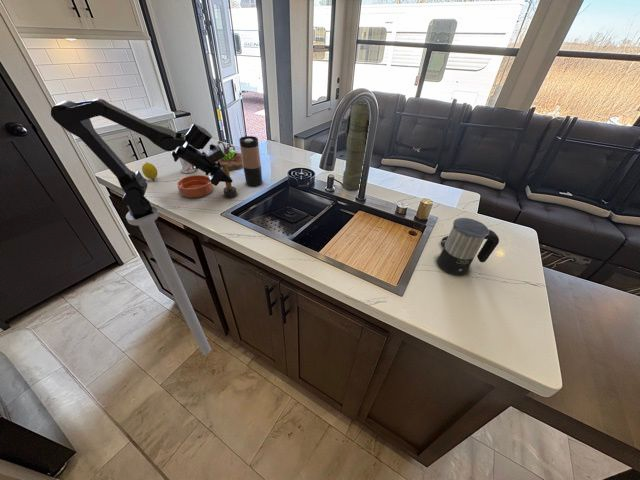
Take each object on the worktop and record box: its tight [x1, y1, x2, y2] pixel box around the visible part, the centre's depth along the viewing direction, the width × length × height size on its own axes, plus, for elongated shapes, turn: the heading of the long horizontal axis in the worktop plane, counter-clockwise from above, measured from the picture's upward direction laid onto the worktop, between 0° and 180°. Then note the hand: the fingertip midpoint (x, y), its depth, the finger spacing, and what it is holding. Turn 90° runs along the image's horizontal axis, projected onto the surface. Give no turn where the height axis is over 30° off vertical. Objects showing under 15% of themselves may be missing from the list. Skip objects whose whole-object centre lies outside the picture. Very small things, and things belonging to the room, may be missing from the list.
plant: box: [216, 140, 244, 171], centre depth 131 cm, size 20×20×11 cm
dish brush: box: [222, 162, 238, 199], centre depth 103 cm, size 5×5×14 cm
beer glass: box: [174, 144, 197, 174], centre depth 120 cm, size 7×7×15 cm
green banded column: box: [342, 101, 370, 192], centre depth 108 cm, size 9×12×35 cm
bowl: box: [176, 174, 214, 199], centre depth 108 cm, size 13×13×4 cm
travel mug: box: [238, 135, 263, 188], centre depth 111 cm, size 8×8×20 cm
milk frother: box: [436, 217, 500, 276], centre depth 78 cm, size 14×16×15 cm
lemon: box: [141, 161, 158, 181], centre depth 113 cm, size 6×6×8 cm
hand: (231, 180), depth 104 cm, fingers closed on dish brush, 2 cm apart
